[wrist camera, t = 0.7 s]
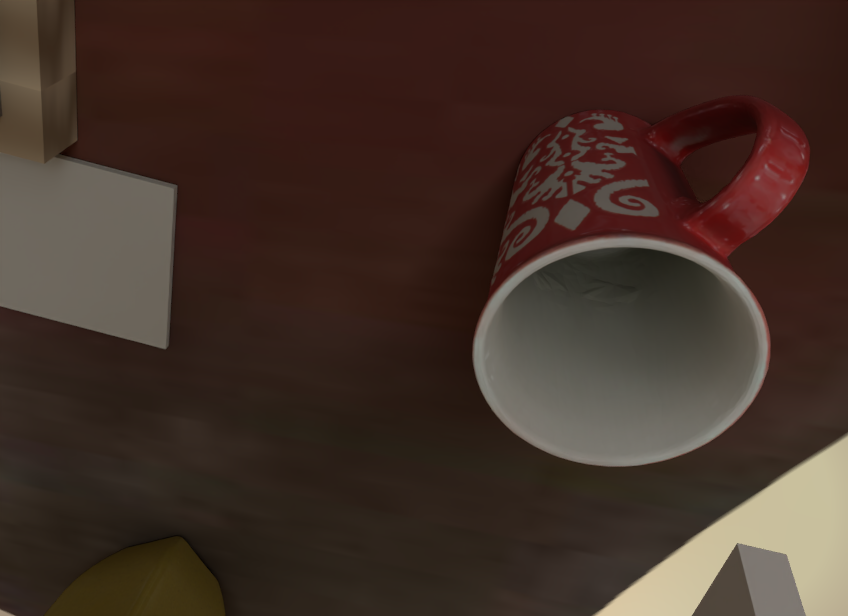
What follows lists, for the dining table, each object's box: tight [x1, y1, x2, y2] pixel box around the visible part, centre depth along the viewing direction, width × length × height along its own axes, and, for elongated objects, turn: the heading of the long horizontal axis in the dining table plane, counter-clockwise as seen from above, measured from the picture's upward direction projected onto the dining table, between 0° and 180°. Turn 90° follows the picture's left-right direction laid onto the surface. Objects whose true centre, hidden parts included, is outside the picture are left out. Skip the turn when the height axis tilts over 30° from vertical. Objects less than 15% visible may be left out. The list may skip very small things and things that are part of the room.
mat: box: [0, 152, 177, 349], centre depth 41 cm, size 10×10×1 cm
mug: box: [472, 95, 810, 467], centre depth 29 cm, size 13×9×14 cm
